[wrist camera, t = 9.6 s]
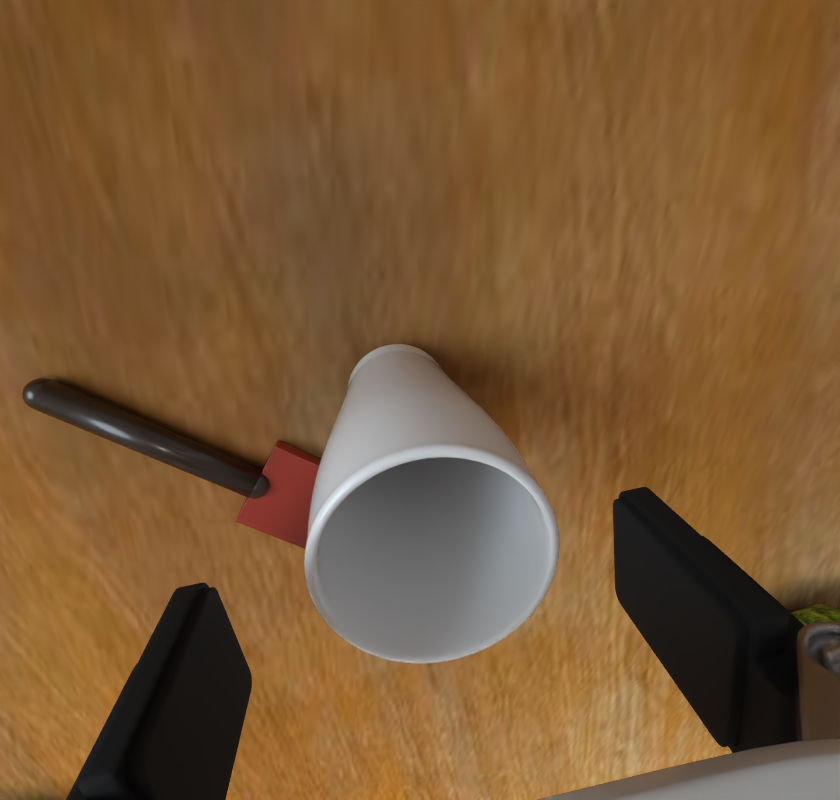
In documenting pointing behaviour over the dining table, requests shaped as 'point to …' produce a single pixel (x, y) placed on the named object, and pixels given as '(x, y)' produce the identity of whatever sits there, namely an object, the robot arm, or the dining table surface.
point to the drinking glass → (424, 518)
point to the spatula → (197, 459)
